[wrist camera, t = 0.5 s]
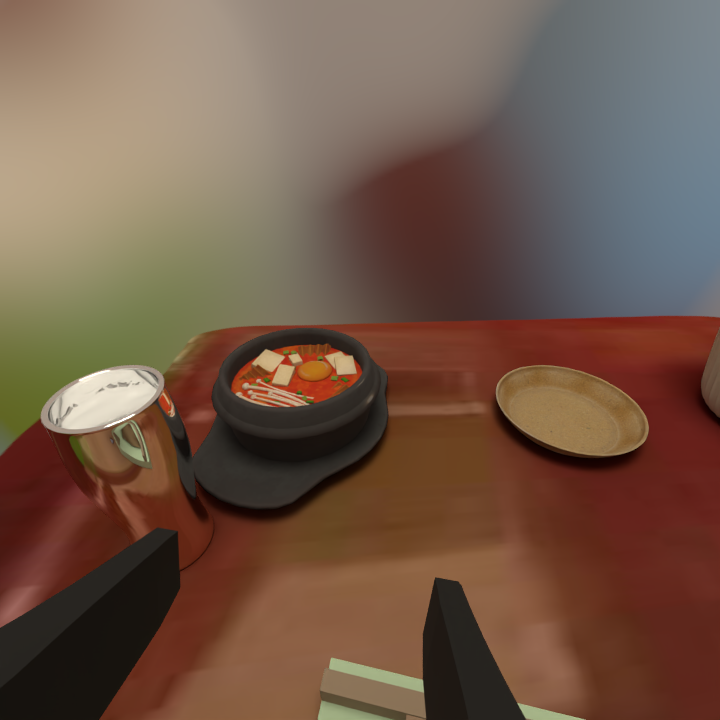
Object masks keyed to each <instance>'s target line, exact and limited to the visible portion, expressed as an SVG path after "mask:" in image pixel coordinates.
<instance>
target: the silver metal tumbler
mask: <svg viewBox="0 0 720 720" xmlns="http://www.w3.org/2000/svg"><path fill="white" fill-rule="evenodd" d="M41 421H42V424H43V425H44V426H45V428H46V429H47V431H48V434H49V436H50V438H51V440H52V442H53V444H54V447H55V449H56V451H57V453H58V455H59V457H60V459H61V461H62V462H63V464H64V466H65V468H66V469H67V471H68V473H69V474H70V476H71V477H72V479H73V480H74V482H75V483H76V484H77V486H78V487H79V489H80V490H81V491H82V492H83V493H84V494H85V495H86V497H87V498H88V499H89V500H90V501H91V502H92V503H93V504H94V505H95V506H96V507H97V508H99V509H100V510H101V511H102V512H103V513H104V514H105V515H106V516H108V517H109V518H110V519H111V520H112V521H113V522H115V523H116V524H117V525H118V526H119V527H120V528H121V529H122V530H123V531H124V533H125V534H126V535H127V537H128V539H129V542H130V545H132V544H133V543H135V542H136V541H138V540H139V539H141V538H142V537H144V536H145V535H147V534H148V533H150V532H151V531H153V530H154V529H156V528H157V527H158V528H164V529H170V530H175V531H178V545H179V568H180V570H182V569H184V568H186V567H187V566H189V565H190V564H192V563H193V562H194V561H195V560H197V559H198V558H199V557H200V556H201V555H202V553H203V552H204V551H205V550H206V548H207V547H208V545H209V543H210V541H211V539H212V536H213V531H214V523H213V519H212V516H211V514H210V513H209V511H208V510H207V509H206V507H205V506H204V505H203V504H202V502H201V501H200V499H199V497H198V495H197V492H196V487H195V479H194V468H193V459H192V452H191V447H190V441H189V437H188V434H187V431H186V428H185V425H184V422H183V419H182V417H181V415H180V412H179V410H178V408H177V405H176V403H175V401H174V399H173V397H172V395H171V393H170V391H169V389H168V387H167V385H166V383H165V381H164V377H163V376H162V374H161V373H160V372H159V371H157V370H156V369H153V368H151V367H147V366H141V365H127V366H118V367H113V368H108V369H104V370H100V371H97V372H94V373H91V374H89V375H86V376H84V377H81V378H79V379H77V380H75V381H73V382H72V383H70V384H68V385H67V386H65V387H63V388H62V389H61V390H59V391H58V392H57V393H55V394H54V395H53V396H52V397H51V398H50V399H49V400H48V401H47V403H46V404H45V405H44V407H43V409H42V413H41Z"/></svg>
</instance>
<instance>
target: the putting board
mask: <svg viewBox="0 0 720 720" xmlns="http://www.w3.org/2000/svg"><path fill="white" fill-rule="evenodd" d="M320 694H321V699H322V702H321V706H320V711H319V715H318V720H406V714H407V715H411V716H415V717H418V718H422V719H426V710H425V699H424V687H423V680H421V679H417V678H412V677H408V676H404V675H400V674H396V673H392V672H388V671H384V670H380V669H376V668H372V667H367V666H363V665H359V664H355V663H351V662H347V661H343V660H339V659H335V658H331V662H330V666H329V669H328V668H325V670H324V674H323V679H322V683H321V687H320ZM517 704H518V705H519V707H520V709H521V711H522V713H523V714H524V716H525V718H526V720H584V719H580V718H576V717H572V716H568V715H564V714H560V713H556V712H552V711H548V710H543V709H539V708H535V707H531V706H527V705H523V704H519V703H517Z"/></svg>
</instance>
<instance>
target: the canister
mask: <svg viewBox="0 0 720 720" xmlns="http://www.w3.org/2000/svg"><path fill="white" fill-rule="evenodd" d="M701 390H702V396H703V398H704V400H705V403H706V404H707V405H708V406H709V408H710V410H711V411H712V412H714V413H715V414H716V416H717V417H719V418H720V328H719V330H718V333H717V336H716V338H715V341H714V344H713V346H712V349H711V352H710V355H709V358H708V361H707V363H706V366H705V369H704V373H703V376H702V380H701Z"/></svg>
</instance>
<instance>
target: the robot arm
mask: <svg viewBox="0 0 720 720" xmlns="http://www.w3.org/2000/svg"><path fill="white" fill-rule="evenodd" d="M179 589H180V568H179V545H178V531H175V530H170V529H164V528H158V527H157V528H156V529H154V530H153V531H151V532H150V533H148V534H147V535H145V536H144V537H142V538H141V539H139V540H138V541H136V542H135V543H133V544H132V545H130V546H129V547H127V548H126V549H124V550H123V551H122V552H120V553H119V554H117V555H116V556H114V557H113V558H111V559H110V560H108V561H107V562H105V563H104V564H102V565H101V566H99V567H98V568H96V569H95V570H93V571H92V572H90V573H89V574H87V575H86V576H84V577H83V578H81V579H80V580H78V581H77V582H75V583H74V584H72V585H70V586H69V587H67V588H66V589H64V590H62V591H61V592H59V593H57V594H56V595H54V596H53V597H51V598H49V599H48V600H46V601H44V602H43V603H41V604H40V605H38V606H36V607H35V608H33V609H32V610H30V611H28V612H27V613H25V614H23V615H22V616H20V617H18V618H17V619H15V620H13V621H11V622H10V623H8V624H6V625H4V626H3V627H1V628H0V720H99V719H100V717H101V716H102V714H103V713H104V711H105V710H106V708H107V707H108V705H109V704H110V702H111V701H112V699H113V698H114V696H115V695H116V693H117V692H118V690H119V689H120V687H121V686H122V684H123V683H124V681H125V680H126V678H127V676H128V675H129V673H130V672H131V670H132V669H133V667H134V666H135V664H136V663H137V661H138V660H139V658H140V657H141V655H142V654H143V652H144V651H145V649H146V648H147V646H148V645H149V643H150V641H151V640H152V638H153V637H154V635H155V634H156V632H157V631H158V629H159V627H160V626H161V624H162V622H163V620H164V618H165V616H166V614H167V613H168V611H169V609H170V607H171V605H172V603H173V601H174V599H175V597H176V595H177V593H178V591H179ZM423 687H424V699H425V710H426V720H526V718H525V716H524V714H523V713H522V711H521V709H520V707H519V705H518V704H517V702H516V700H515V698H514V696H513V695H512V693H511V691H510V689H509V687H508V685H507V683H506V681H505V679H504V678H503V676H502V674H501V672H500V670H499V668H498V666H497V664H496V662H495V660H494V658H493V656H492V654H491V652H490V650H489V648H488V645H487V643H486V641H485V639H484V637H483V635H482V633H481V631H480V628H479V626H478V624H477V622H476V620H475V617H474V615H473V613H472V610H471V608H470V606H469V603H468V601H467V598H466V596H465V594H464V591H463V588H462V586H461V585H460V583H459V582H458V581H452V580H447V579H441V578H436V577H435V580H434V585H433V590H432V594H431V599H430V604H429V608H428V613H427V617H426V622H425V627H424V631H423Z"/></svg>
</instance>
